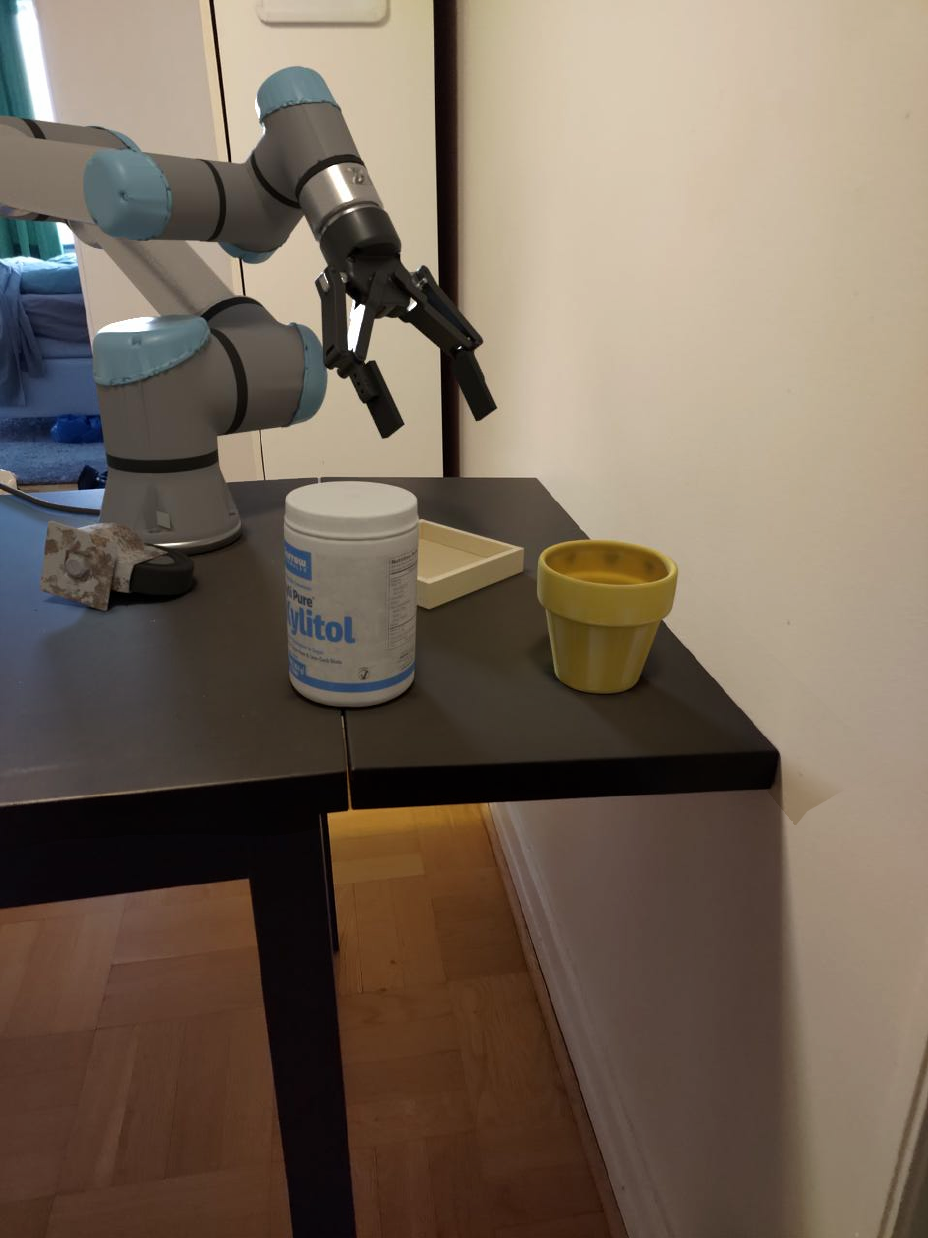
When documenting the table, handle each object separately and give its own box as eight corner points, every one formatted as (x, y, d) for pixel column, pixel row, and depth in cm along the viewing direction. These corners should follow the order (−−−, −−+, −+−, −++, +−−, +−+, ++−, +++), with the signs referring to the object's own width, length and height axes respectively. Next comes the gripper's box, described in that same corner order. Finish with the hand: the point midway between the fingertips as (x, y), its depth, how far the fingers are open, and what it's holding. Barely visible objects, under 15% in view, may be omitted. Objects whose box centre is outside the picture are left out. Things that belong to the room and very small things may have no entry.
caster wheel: (201, 603, 85) (150, 628, 76) (98, 570, 86) (34, 591, 76) (213, 540, 83) (162, 557, 74) (108, 507, 84) (44, 520, 75)
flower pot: (594, 721, 61) (608, 594, 57) (504, 667, 69) (511, 551, 65) (689, 685, 67) (708, 567, 63) (597, 638, 74) (608, 531, 70)
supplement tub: (267, 699, 62) (253, 505, 57) (323, 648, 71) (316, 474, 65) (390, 722, 60) (389, 521, 54) (433, 666, 68) (436, 487, 62)
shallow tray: (325, 571, 88) (324, 547, 87) (421, 540, 98) (421, 518, 97) (429, 609, 79) (429, 583, 78) (523, 571, 89) (524, 548, 88)
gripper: (266, 193, 72) (371, 419, 71) (459, 209, 90) (544, 391, 89) (228, 248, 77) (325, 459, 77) (416, 253, 95) (496, 425, 94)
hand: (442, 423), depth 83 cm, fingers open, 13 cm apart
